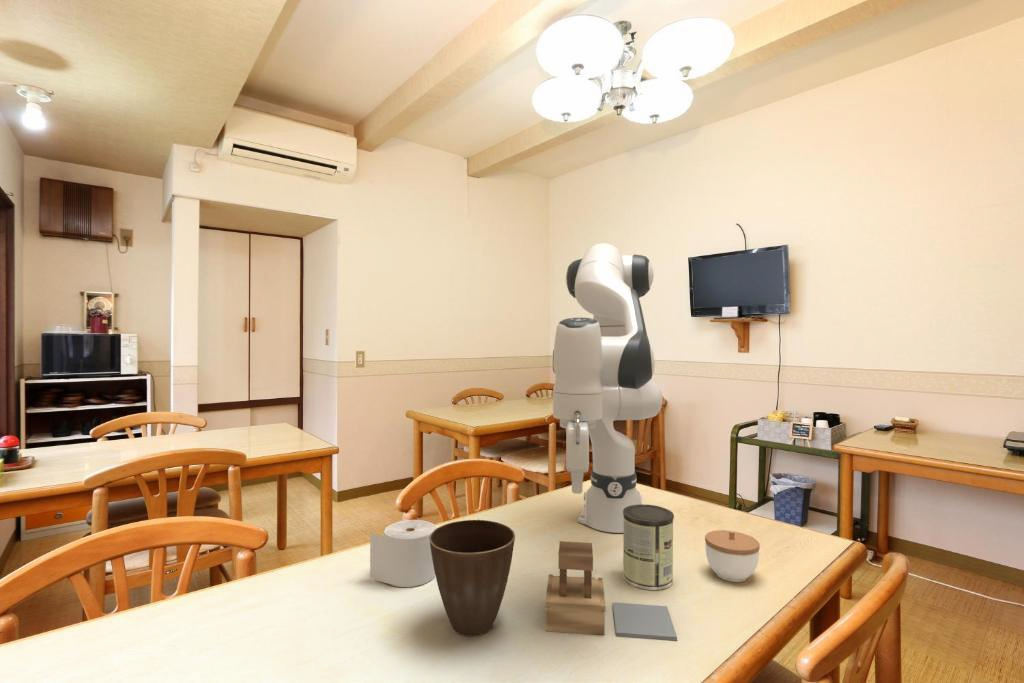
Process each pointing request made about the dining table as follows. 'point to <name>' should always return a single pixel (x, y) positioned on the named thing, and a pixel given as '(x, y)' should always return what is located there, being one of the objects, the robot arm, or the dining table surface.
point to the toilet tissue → (402, 554)
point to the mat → (643, 621)
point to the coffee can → (648, 547)
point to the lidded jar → (732, 554)
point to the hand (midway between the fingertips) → (576, 484)
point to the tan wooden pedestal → (575, 607)
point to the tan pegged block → (575, 564)
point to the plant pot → (472, 571)
